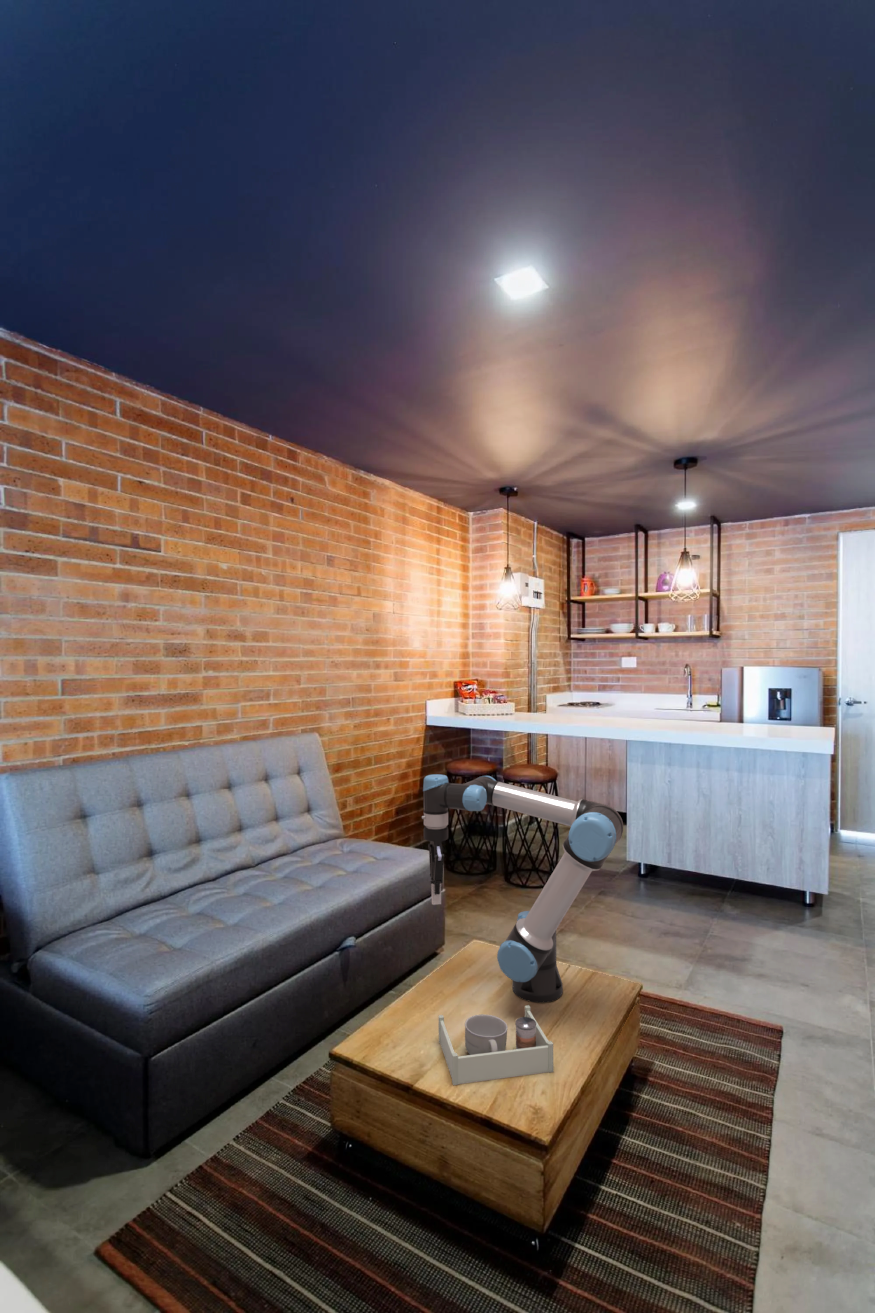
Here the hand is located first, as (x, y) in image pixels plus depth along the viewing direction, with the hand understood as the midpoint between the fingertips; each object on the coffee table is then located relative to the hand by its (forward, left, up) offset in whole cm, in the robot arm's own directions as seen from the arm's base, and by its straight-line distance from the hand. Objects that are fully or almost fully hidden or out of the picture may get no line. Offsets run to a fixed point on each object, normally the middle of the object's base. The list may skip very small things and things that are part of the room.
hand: (436, 903), depth 196 cm
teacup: (-6, +36, -27) cm, 45 cm away
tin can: (-16, +36, -26) cm, 47 cm away
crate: (-8, +35, -26) cm, 45 cm away
